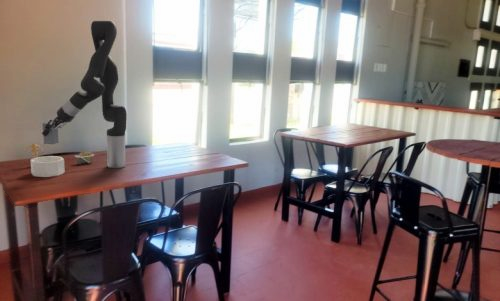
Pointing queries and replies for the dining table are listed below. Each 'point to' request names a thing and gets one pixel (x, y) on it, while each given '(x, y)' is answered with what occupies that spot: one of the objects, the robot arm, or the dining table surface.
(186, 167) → the dining table surface
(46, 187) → the dining table surface
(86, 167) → the dining table surface
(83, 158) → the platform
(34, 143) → the figurine
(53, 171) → the white round bowl
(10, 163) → the dining table surface
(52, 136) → the grey tall block
